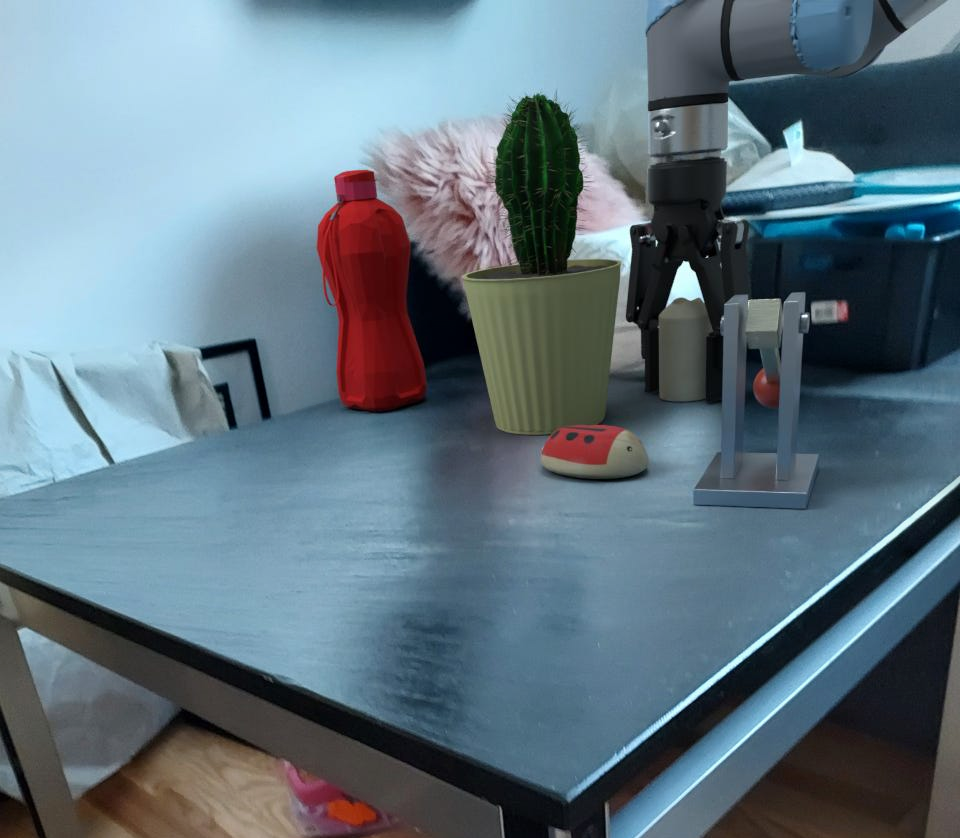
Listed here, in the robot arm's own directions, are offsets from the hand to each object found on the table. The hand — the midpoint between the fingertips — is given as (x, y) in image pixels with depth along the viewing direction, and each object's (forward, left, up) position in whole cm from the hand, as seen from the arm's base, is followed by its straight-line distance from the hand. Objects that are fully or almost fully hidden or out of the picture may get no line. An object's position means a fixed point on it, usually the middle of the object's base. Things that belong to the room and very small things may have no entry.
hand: (685, 394), depth 102 cm
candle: (0, 0, 0) cm, 0 cm away
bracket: (-31, +10, 0) cm, 32 cm away
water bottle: (+19, +30, 0) cm, 36 cm away
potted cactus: (-1, +16, 0) cm, 16 cm away
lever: (-28, +8, +7) cm, 30 cm away
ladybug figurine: (-20, +19, 0) cm, 27 cm away
